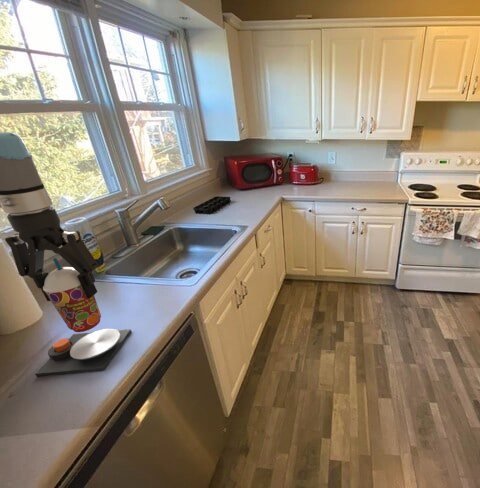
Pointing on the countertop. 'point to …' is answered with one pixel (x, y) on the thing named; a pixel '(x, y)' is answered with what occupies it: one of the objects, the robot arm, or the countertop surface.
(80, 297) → the smoothie
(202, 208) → the egg carton
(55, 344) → the tare button
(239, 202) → the countertop surface
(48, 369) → the scale
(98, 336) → the platter
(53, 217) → the robot arm
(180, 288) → the countertop surface
